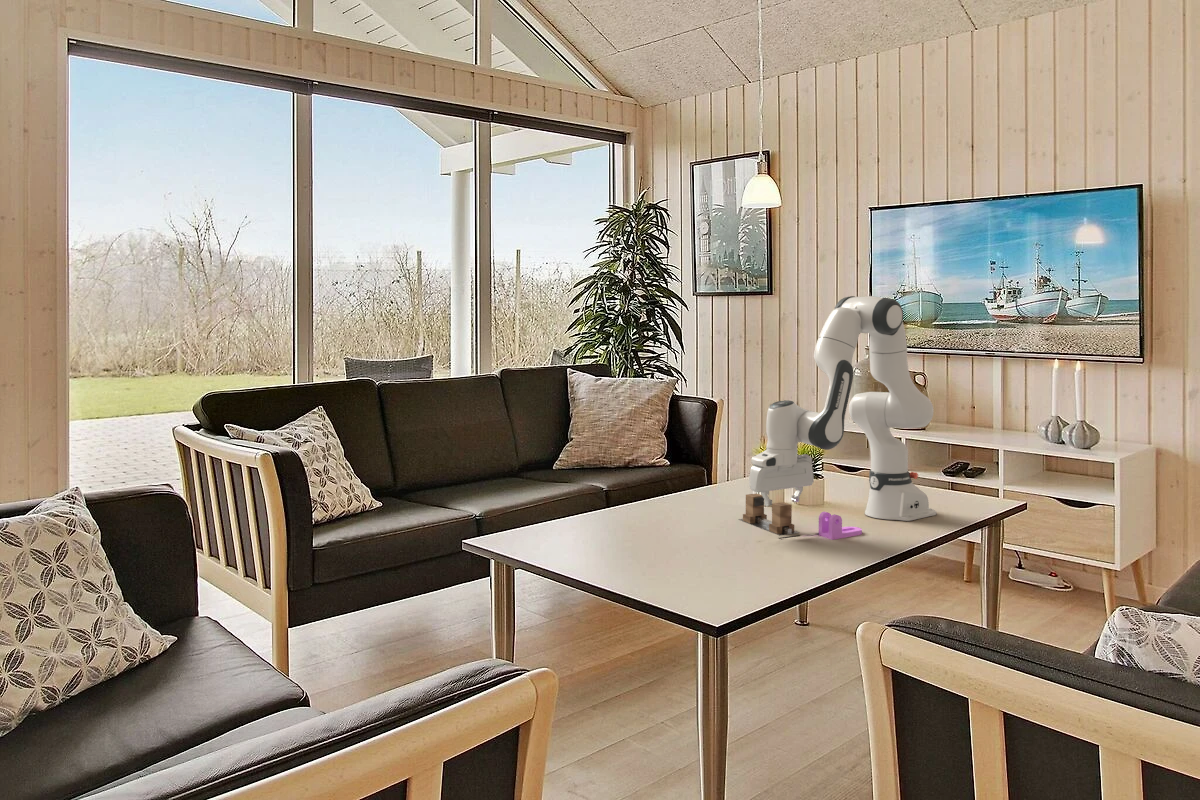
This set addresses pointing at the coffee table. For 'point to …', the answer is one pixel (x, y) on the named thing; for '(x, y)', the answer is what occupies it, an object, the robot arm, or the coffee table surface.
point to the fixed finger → (754, 508)
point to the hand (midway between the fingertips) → (782, 503)
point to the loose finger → (781, 517)
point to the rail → (764, 525)
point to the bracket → (835, 527)
